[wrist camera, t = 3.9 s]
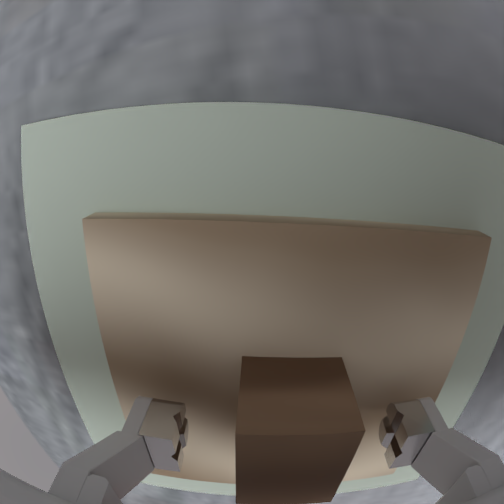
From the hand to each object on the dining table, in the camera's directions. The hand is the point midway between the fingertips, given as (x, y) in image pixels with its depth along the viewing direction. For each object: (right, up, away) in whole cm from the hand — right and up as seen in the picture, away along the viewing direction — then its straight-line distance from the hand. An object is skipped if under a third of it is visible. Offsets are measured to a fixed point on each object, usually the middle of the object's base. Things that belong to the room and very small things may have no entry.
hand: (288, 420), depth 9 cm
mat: (0, +1, +2) cm, 2 cm away
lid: (0, +1, +2) cm, 2 cm away
